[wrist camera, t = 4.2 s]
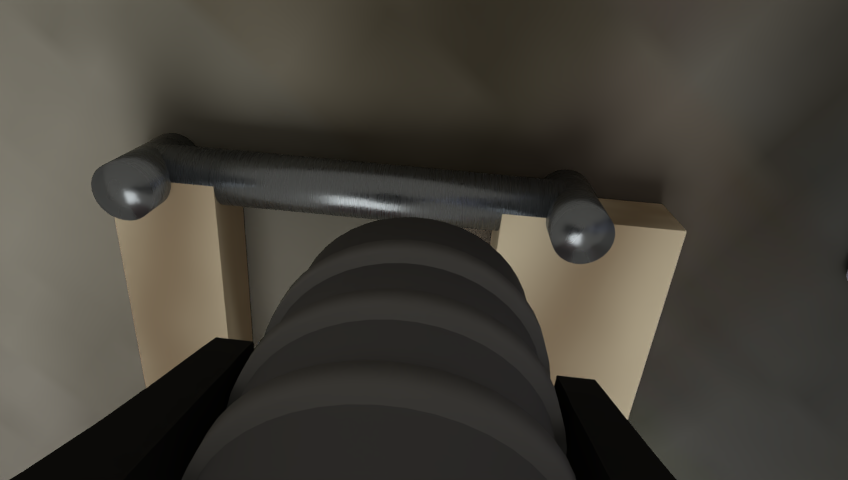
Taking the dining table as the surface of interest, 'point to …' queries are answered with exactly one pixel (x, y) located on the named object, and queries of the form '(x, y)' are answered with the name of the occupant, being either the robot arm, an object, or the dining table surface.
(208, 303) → the wooden picture frame
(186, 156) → the hook rod
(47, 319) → the dining table surface
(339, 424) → the grooved grey cylinder
